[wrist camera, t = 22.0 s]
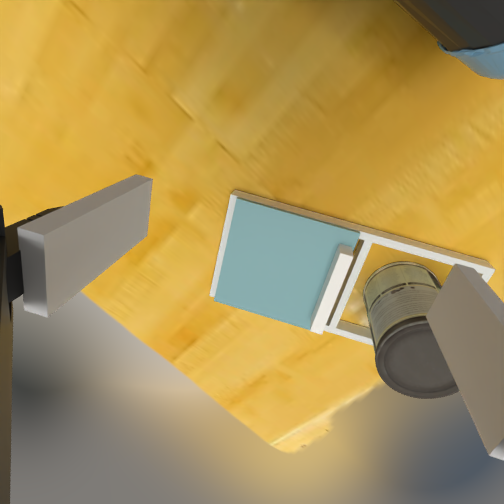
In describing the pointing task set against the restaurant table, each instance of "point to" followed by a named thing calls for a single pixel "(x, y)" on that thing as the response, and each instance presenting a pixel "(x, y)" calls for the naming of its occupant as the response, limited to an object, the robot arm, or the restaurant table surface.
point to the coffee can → (406, 331)
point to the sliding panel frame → (358, 259)
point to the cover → (284, 265)
